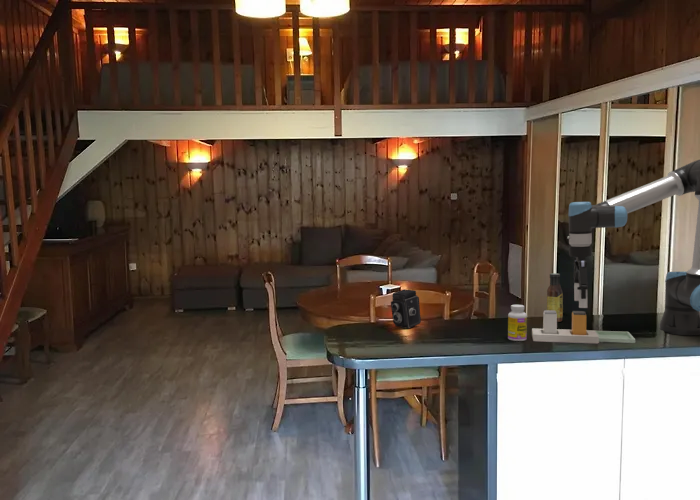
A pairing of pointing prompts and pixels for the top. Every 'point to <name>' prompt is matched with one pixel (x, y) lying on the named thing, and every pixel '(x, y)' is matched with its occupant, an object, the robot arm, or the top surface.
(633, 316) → the top surface
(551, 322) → the twin plug
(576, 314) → the plug
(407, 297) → the camera
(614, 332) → the tray
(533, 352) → the top surface
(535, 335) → the pdu strip
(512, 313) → the supplement bottle
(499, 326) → the top surface
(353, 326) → the top surface
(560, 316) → the sauce bottle
